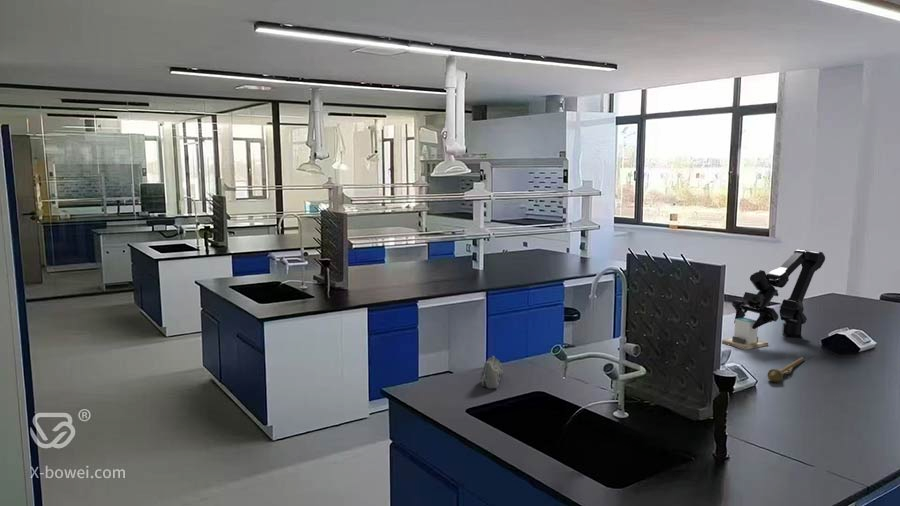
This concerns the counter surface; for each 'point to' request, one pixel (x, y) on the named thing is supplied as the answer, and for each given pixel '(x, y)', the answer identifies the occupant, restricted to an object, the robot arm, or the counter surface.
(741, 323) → the panel
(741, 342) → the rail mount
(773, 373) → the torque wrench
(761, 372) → the counter surface
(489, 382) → the mineral rock
